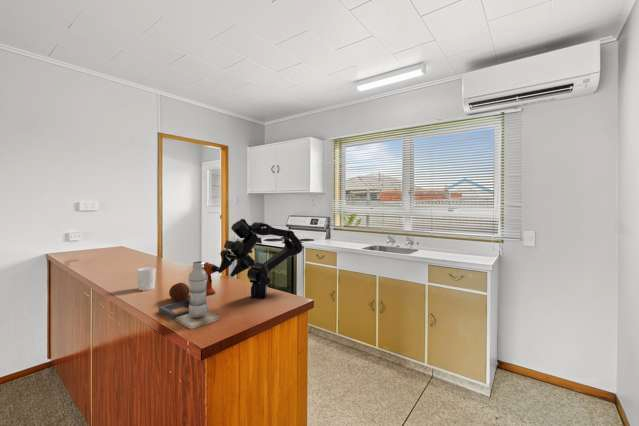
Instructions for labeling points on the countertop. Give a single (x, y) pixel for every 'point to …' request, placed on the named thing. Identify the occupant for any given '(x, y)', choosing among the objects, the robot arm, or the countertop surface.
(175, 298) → the potato
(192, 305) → the plastic bottle
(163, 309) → the collar
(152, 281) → the white cup
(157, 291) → the countertop surface
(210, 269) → the toy drill
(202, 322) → the board
